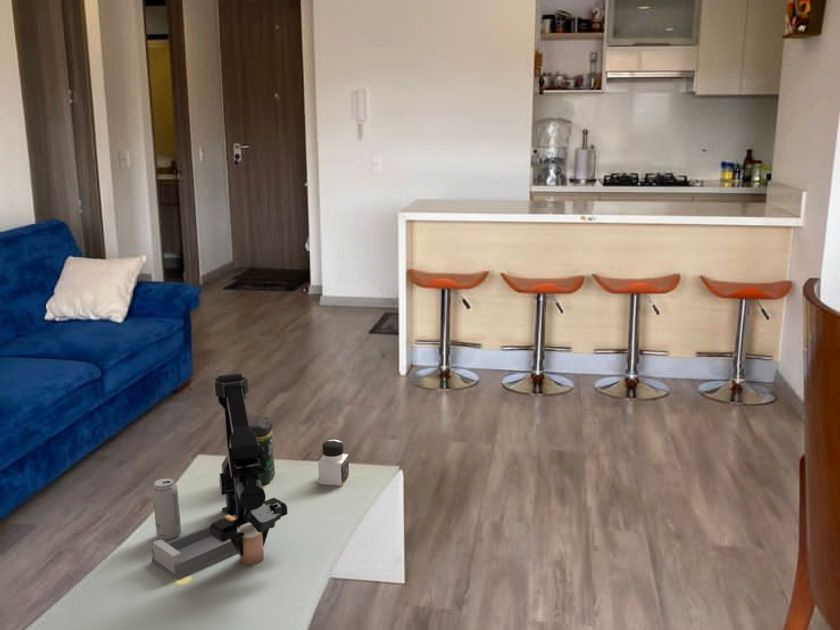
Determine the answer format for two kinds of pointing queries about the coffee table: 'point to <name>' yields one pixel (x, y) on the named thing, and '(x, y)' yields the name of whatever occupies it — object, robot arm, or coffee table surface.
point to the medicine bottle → (333, 464)
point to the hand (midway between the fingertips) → (251, 550)
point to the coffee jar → (264, 445)
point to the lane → (191, 552)
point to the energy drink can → (166, 509)
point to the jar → (251, 545)
